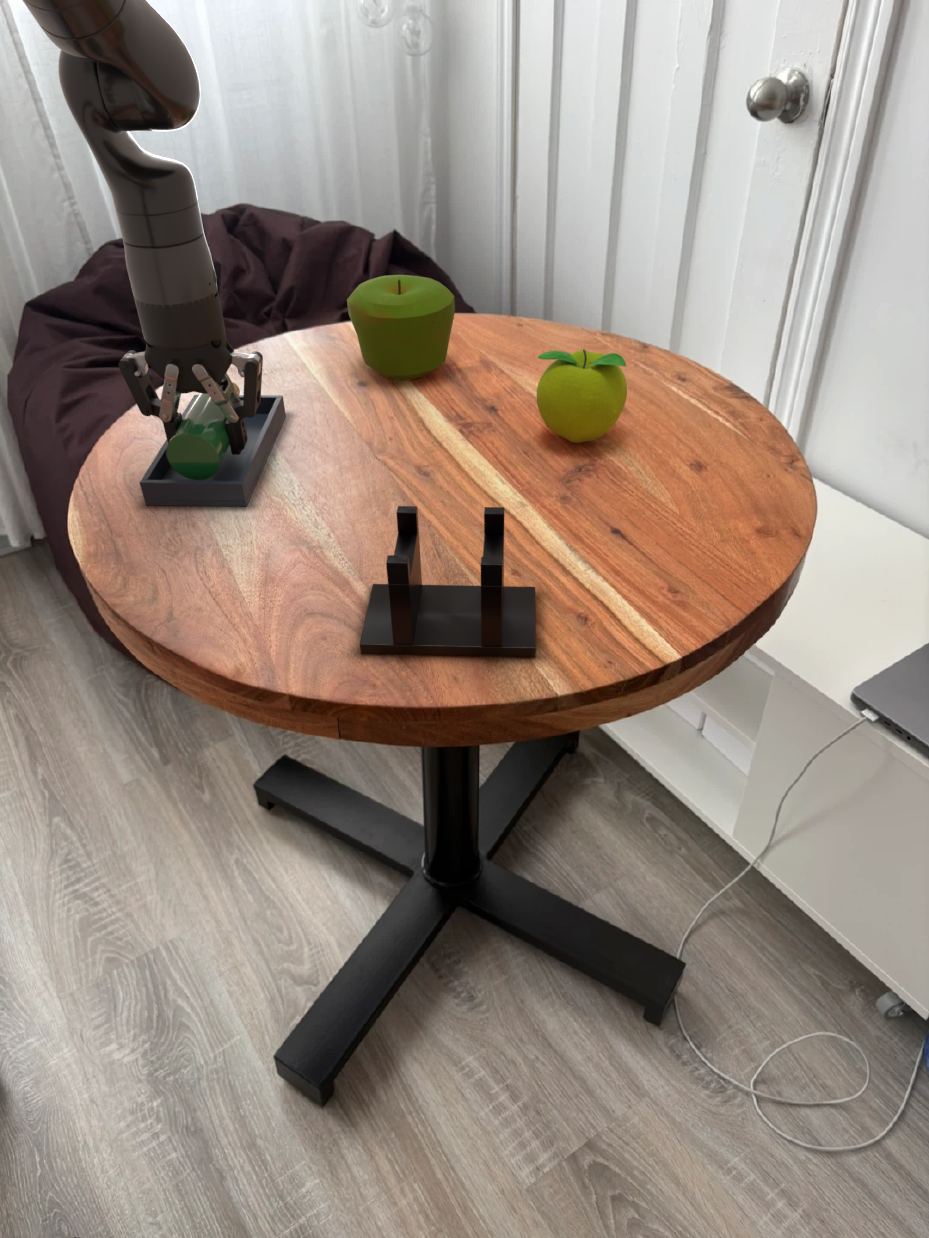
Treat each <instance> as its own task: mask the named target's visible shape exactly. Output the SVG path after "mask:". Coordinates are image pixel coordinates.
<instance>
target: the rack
mask: <svg viewBox="0 0 929 1238" xmlns="http://www.w3.org/2000/svg"><path fill="white" fill-rule="evenodd" d="M505 509H506V508H505V507H503V506H501V507H500V506H484V511H483V533H484V534H483V547H482V548H483V549H482V556H481V557H480V585H462V584H461V585H460V584H459V585H458V584H457V585H456V584H454V585H452V584H423V578H422V563H421V562H422V561H421V543H420V527H419V511H418V506H416V505H415V506H414V505H397V508H396V525H397V527H396V528H397V536H396V541H395V547H394V553H393V554H388V555H387V556H386V562H385V564H386V565H385V566H386V577H387V583H372V585H371V590H370V595H369V598H368V599H369V600H368V604H367V609H366V614H365V618H364V622H363V628H362V631H361V637H360V641H359V651H360V654H369V655H370V654H372V655H373V654H376V655H415V656H424V655H425V656H459V657H460V656H463V657H503V658H504V657H507V658H509V657H510V658H536V653H537V652H536V651H537V636H536V635H537V628H536V627H537V626H536V625H537V624H536V623H537V621H536V620H537V618H536V614H537V613H536V610H537V609H536V587H535V586H518V585H517V586H514V585H513V586H511V585H505V512H506V511H505Z"/></svg>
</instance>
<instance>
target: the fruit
mask: <svg viewBox="0 0 929 1238" xmlns="http://www.w3.org/2000/svg"><path fill="white" fill-rule="evenodd" d="M537 359H539V360H543V361H544V360H545V361H547V360H548V361H549V360H550V361H551V360H554V361H552V362H551V363H550V364H549V365H548V366H547V367H546V368H545V370H544V372H543V373H542V375H541V377H540V379H539V381H538V383H537V388H536V405H537V408H538V412H539V415H540V417H541V419H542V421H543V422H544V424H545V425H546V426H547V428H548V429H549V430H550V431H551V432H552V433H554V434H555V435H557V436H559V437H561V438H564V439H566V440H567V441H569V442H570V443H572V444H573V443H574V444H579V443H584V442H591V441H596V440H597V439H600V438H601V437H602V436H604V435H605V434H606V433H608V432H609V431H610V430H611V429H612V428H613V427H614V425H616V423H617V421H618V420H619V418H620V416H621V414H622V412H623V410H624V407H625V404H626V402H627V396H628V387H627V386H628V383H627V380H626V376H625V374H624V372H623V370H622V368H621V367H627V362H626V360H625V359H624V357H623V356H622V355H620V354H619V353H615V352H611V353H607V354H605V353H602V352H592V351H588V350H586V348H583V349H579V350H576V351H574V352H571V353H569V352H566V351H563V350H548V351H546V352H543V353H541V354H539V355H538V356H537Z"/></svg>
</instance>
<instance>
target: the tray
mask: <svg viewBox="0 0 929 1238" xmlns="http://www.w3.org/2000/svg"><path fill="white" fill-rule="evenodd" d="M198 395H199V394H193V396H192V397H191V399H190V401H189V403H188V404H187V405H186V407H185V409H184V410H183V412H182V413H181V414H182V419H184V417H185V416H186V414H187V412H188V411H189V409H190V408H191V406H192V404H193V403H194V401H195V399H196V398H197V396H198ZM243 395H244V394H239V396H238V397H239V398H240V400H241V401H243ZM286 417H287V413H286V408H285V402H284V396H283V395H281V394H280V395H279V394H278V395H277V394H276V395H275V394H274V395H272V394H271V395H270V394H268V395H267V394H266V395H265V394H261V402H260V405H259V407H258V408H257V410H256V413H255V415H254V416H253V417H251V418H249V417H245V418H244V421H245V426H246V431H247V437H248V440H247V443H246V445H245V447H244V449H242V451H241V453H240V455H232V453H231V448H230V447H229V449H228V451H227V453H226V455H225V457H224V458H223V460H222V462H221V464H220V466H219V468H218V470H217V472H216V473H215V474H214V475H213V476H212V477H210V478H208V479H205V480H192V479H188V478H186V477H184V476H182V475H180V474H179V473H177V472H176V471H175V470H174V469H173V468H172V466H171V465H170V463H169V461H168V459H167V454H166V449H167V445H168V441H167V438H166V440H165V441H164V443H163V444H162V446H161V447H160V449H159V450H158V452H157V454H156V455H155V457H154V459H153V460H152V462H151V464H150V465H149V466H148V468H147V470H146V471H145V473H144V475H143V476H142V477H141V480H140V481H139V485H140V489H141V493H142V496H143V500H144V503H145V506H188V507H189V506H190V507H192V506H194V507H195V506H197V507H198V506H200V507H247V506H248V504H249V502H250V500H251V498H252V495H253V493H254V490H255V487H256V485H257V483H258V481H259V479H260V476H261V475H262V472H263V470H264V467H265V465H266V463H267V460H268V458H269V456H270V454H271V451H272V449H273V447H274V444H275V442H276V440H277V437H278V436H279V433H280V431H281V428H282V426H283V424H284V421H285V419H286Z"/></svg>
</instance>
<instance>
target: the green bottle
mask: <svg viewBox="0 0 929 1238" xmlns="http://www.w3.org/2000/svg"><path fill="white" fill-rule="evenodd" d="M232 383H233V385H234V389H235V392H236V394H237V395H238V396H239V395H241V394H240V393H241V390H240V387H239V386H238V385H237V383H235V382H233V381H232ZM197 395H198V396H197V398H196V399H195V401H194V403H193V404H192V406H191V408H190V409H189V411H188V412H187V414H186V416H185V417H184V419H183V420H182V422H181V424H180V425H179V427H178V428H177V430H176V432H175V433H174V435H173V436H172V438H171V440H170V441H169V443H168V445H167V449H166V454H167V459H168V461H169V463H170V465H171V466H172V468H173V469H174V470H175V471H176V472H177V473H179V474H180V475H182V476H184V477H186V478H188V479H192V480H205V479H208V478H210V477H212V476H213V475H214V474H215V473H216V472H217V470H218V468H219V466H220V464H221V462H222V460H223V458H224V457H225V455H226V453H227V451H228V449H229V447H230V443H229V438H228V433H227V428H226V422H227V419H226V417H225V415H224V414H223V412H222V411H221V409H220V407H219V406H218V405H215V404H214V402H213V401H212V399H211V398H210V396H209V394H202V393H198V394H197Z"/></svg>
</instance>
